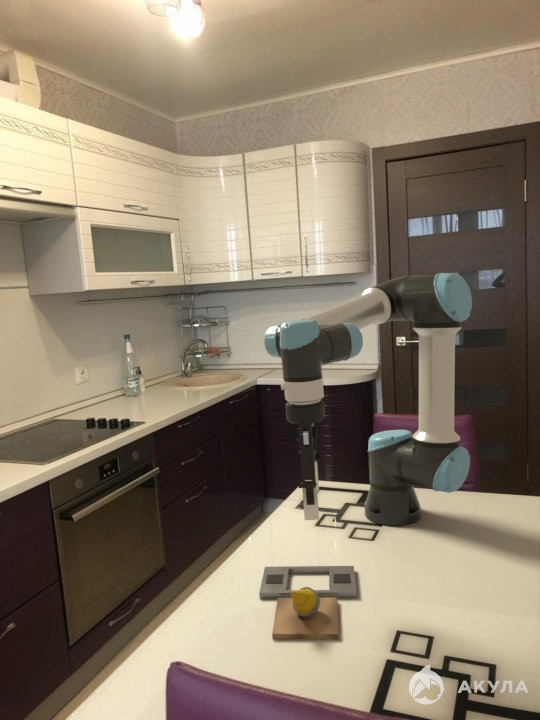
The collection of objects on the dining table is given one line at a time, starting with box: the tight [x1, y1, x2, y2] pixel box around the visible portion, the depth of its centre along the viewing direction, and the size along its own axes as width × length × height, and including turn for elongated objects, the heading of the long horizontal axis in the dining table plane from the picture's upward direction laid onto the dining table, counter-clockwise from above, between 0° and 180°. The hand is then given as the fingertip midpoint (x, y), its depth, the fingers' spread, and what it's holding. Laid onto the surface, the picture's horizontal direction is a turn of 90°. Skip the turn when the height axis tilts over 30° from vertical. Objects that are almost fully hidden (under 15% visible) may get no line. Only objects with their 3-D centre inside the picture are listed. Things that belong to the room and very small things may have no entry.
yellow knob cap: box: [290, 586, 320, 618], centre depth 107 cm, size 5×5×10 cm
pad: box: [271, 598, 339, 640], centre depth 108 cm, size 12×12×1 cm
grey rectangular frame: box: [258, 565, 357, 599], centre depth 121 cm, size 20×11×1 cm, turn 84°
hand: (312, 504), depth 112 cm, fingers open, 13 cm apart
